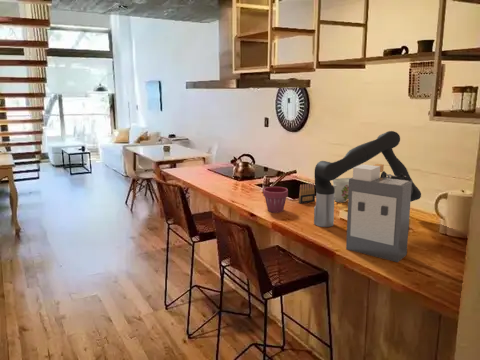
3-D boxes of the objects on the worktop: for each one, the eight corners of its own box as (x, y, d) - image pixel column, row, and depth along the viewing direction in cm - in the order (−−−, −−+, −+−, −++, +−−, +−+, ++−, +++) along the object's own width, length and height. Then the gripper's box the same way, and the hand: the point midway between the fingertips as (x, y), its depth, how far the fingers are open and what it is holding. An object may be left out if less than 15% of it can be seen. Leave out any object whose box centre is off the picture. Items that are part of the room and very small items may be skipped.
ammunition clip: (300, 203, 261) (300, 184, 258) (298, 203, 263) (298, 184, 260) (314, 201, 265) (315, 182, 262) (313, 200, 267) (313, 182, 264)
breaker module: (352, 179, 181) (353, 167, 180) (371, 171, 195) (372, 161, 194) (370, 181, 176) (371, 169, 175) (388, 173, 190) (389, 162, 189)
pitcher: (322, 201, 265) (323, 180, 262) (343, 197, 274) (344, 176, 271) (335, 205, 255) (336, 183, 252) (356, 200, 265) (357, 179, 262)
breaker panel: (344, 250, 187) (347, 178, 180) (356, 242, 196) (359, 174, 189) (396, 263, 173) (401, 186, 166) (406, 254, 181) (411, 181, 174)
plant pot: (292, 211, 245) (292, 190, 242) (271, 215, 239) (271, 193, 236) (279, 205, 257) (279, 185, 254) (259, 209, 251) (258, 188, 248)
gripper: (389, 176, 221) (379, 165, 209) (417, 180, 212) (408, 168, 200) (385, 189, 220) (375, 179, 207) (414, 194, 211) (404, 183, 198)
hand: (391, 174), depth 204 cm, fingers open, 8 cm apart
